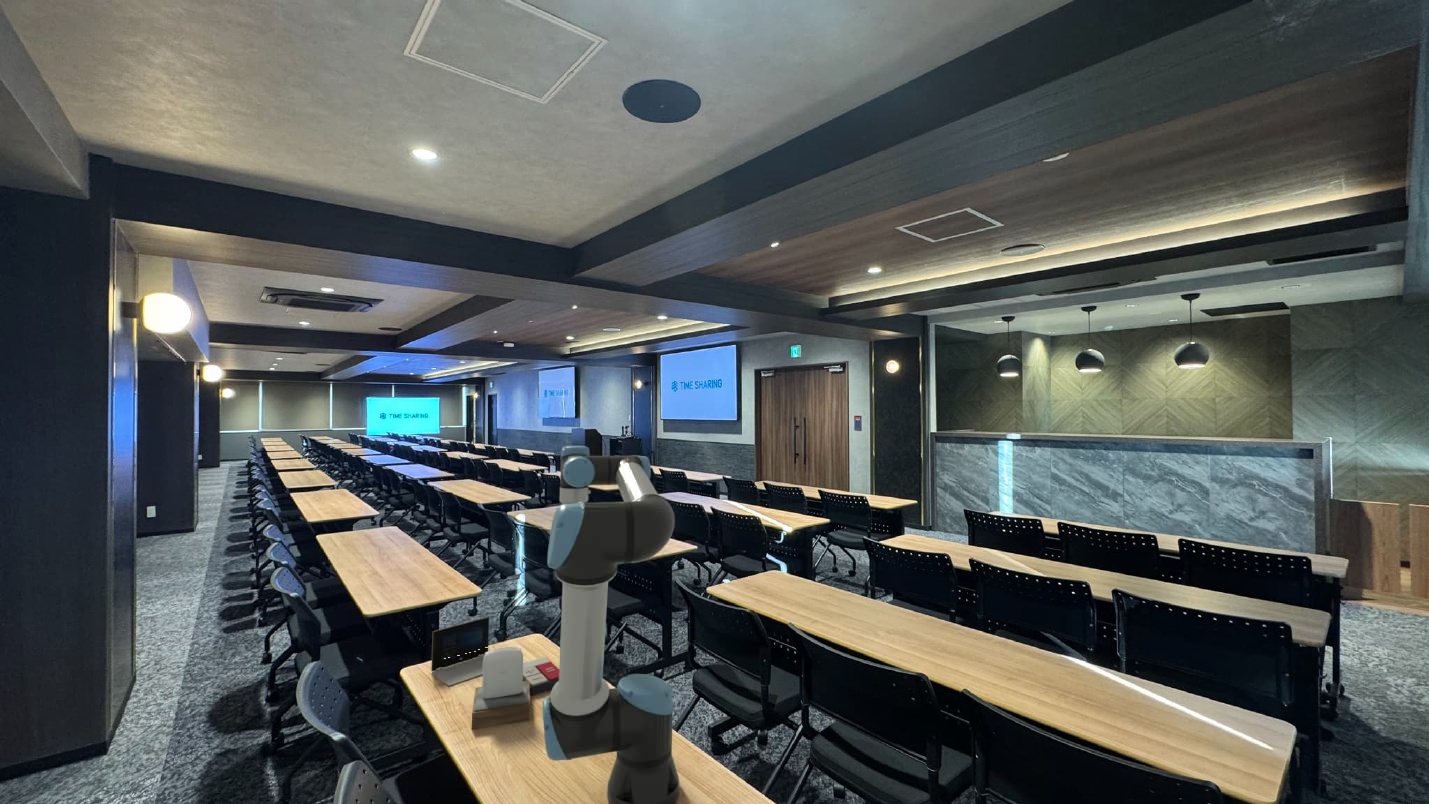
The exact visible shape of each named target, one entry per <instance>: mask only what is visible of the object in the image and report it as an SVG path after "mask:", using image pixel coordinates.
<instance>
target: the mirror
mask: <svg viewBox="0 0 1429 804" xmlns="http://www.w3.org/2000/svg"><path fill="white" fill-rule="evenodd" d="M474 689H475V690H474V698H473V705H472V712H471V730H475V729H476V730H477V729H482V728H488V727H494V726H495V727H496V726H502V725H508V724H513V723H514V724H515V723H521V722H522V723H523V722H527V721H531V696H530V689H529V681H523V691H522V692H521V693H519V694H515V695H509V696H502V697H496V698H488V699H484V698H483V697H482V686H477V687H475V688H474Z"/></svg>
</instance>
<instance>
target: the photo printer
mask: <svg viewBox="0 0 1429 804" xmlns="http://www.w3.org/2000/svg"><path fill="white" fill-rule="evenodd" d="M523 653H524V652H523V651H522V647H518V646H501V647H497V648H493V649H490V650H488V652H486V653H485V656H484V659H483V675H482V681H481V682H482V684H481V685H482V686H481V687H482V697H483V698H484V699H488V698H496V697H502V696H509V695H515V694H519V693H521V692H522V691H523V663H524V654H523Z"/></svg>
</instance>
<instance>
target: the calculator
mask: <svg viewBox="0 0 1429 804" xmlns="http://www.w3.org/2000/svg"><path fill="white" fill-rule="evenodd" d="M523 681H529V689H530V697H533V696H534V697H535V696H536V695H540V694H543V693H546V692H550V691H552V689H553V687H554V685H555V684H556V683H557V682H558V681H559V667H557V665H555V664H554V663H553V662H552V661H551V660H550V659H549V658H548V657H546V656H544V657H539V658H536V659H533V660H530V661H525V662H523Z"/></svg>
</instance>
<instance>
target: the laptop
mask: <svg viewBox="0 0 1429 804" xmlns="http://www.w3.org/2000/svg"><path fill="white" fill-rule="evenodd" d="M489 633H490V617H489V616H486V617H483V618H479V619H474V620H471V621H467V622H463V623H459V624H456V625H453V626H447V627H444V628H441V629H436V630H434V631H433V630H432V638H431V639H432V640H431V641H432V643H431V675H433V676H434V677H436V678H437V679H438V680H439V681H440V682H442V683H444V685H447V686H448V687H450V686H453V685H457V684H460V683H463V682H466V681H469V680H472V679H474V678H479V677H480V676H483V659H484V656H485V653H486V652H488V651H489V635H490V634H489ZM485 647H488V648H485ZM478 649H480V650H478ZM474 651H476V652H474ZM469 652H471V653H469ZM465 653H467V654H465ZM457 655H460V656H457ZM448 657H450V658H448ZM444 658H446V659H444Z"/></svg>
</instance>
